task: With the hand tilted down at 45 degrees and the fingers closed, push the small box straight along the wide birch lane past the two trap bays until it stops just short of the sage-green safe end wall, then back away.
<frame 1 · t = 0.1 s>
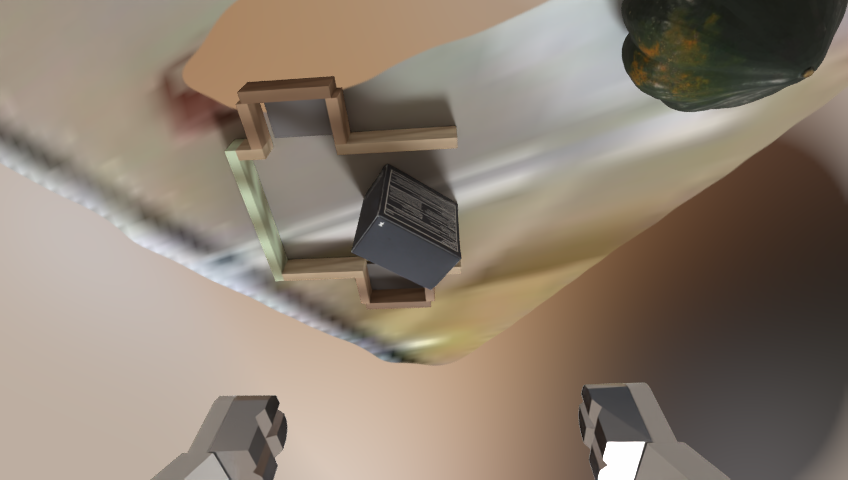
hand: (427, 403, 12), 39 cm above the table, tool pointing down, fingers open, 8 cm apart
trap lane: (362, 204, 54), on the table
squash: (690, 5, 40), on the table
small box: (410, 201, 54), on the table
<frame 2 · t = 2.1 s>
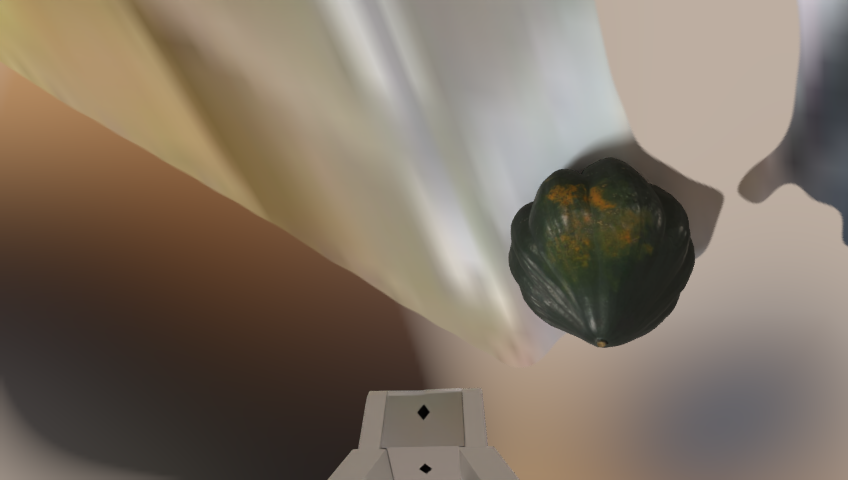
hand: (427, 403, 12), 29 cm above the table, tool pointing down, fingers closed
squash: (577, 218, 42), on the table
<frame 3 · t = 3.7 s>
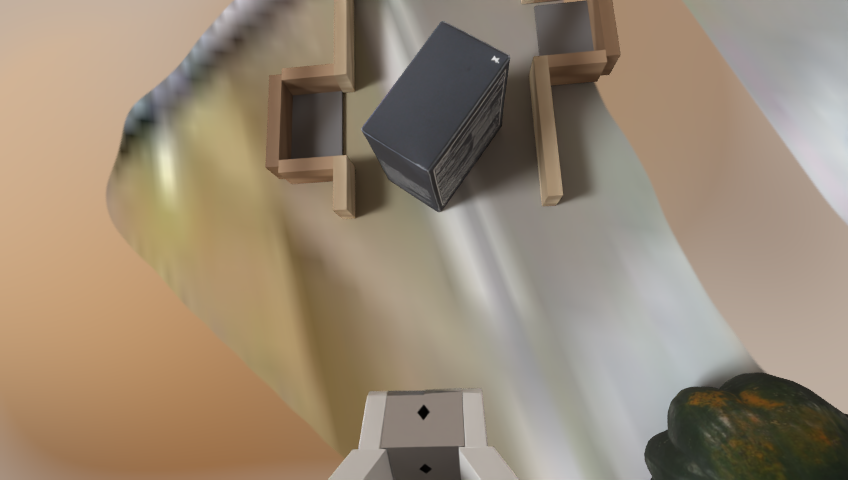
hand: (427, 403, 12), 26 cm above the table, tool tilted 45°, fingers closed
trap lane: (440, 93, 42), on the table
squash: (721, 472, 33), on the table
small box: (443, 152, 41), on the table
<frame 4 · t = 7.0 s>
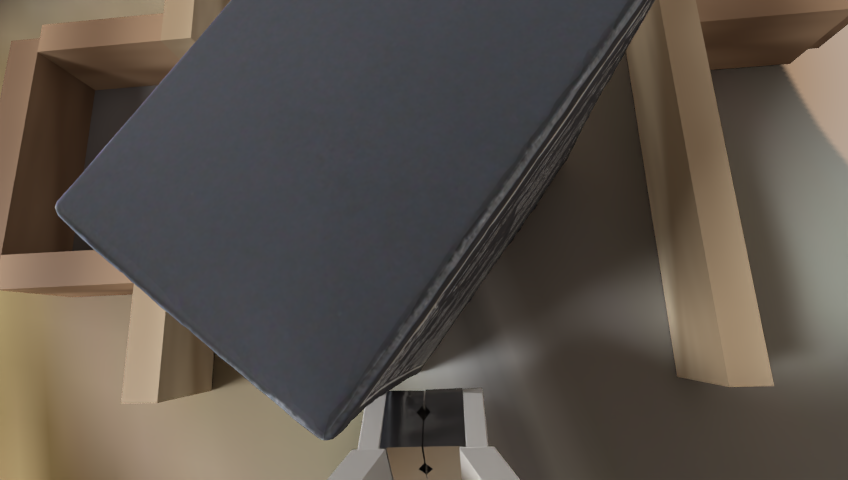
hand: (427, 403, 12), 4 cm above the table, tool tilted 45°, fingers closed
trap lane: (423, 88, 18), on the table
small box: (428, 219, 17), on the table, touching gripper
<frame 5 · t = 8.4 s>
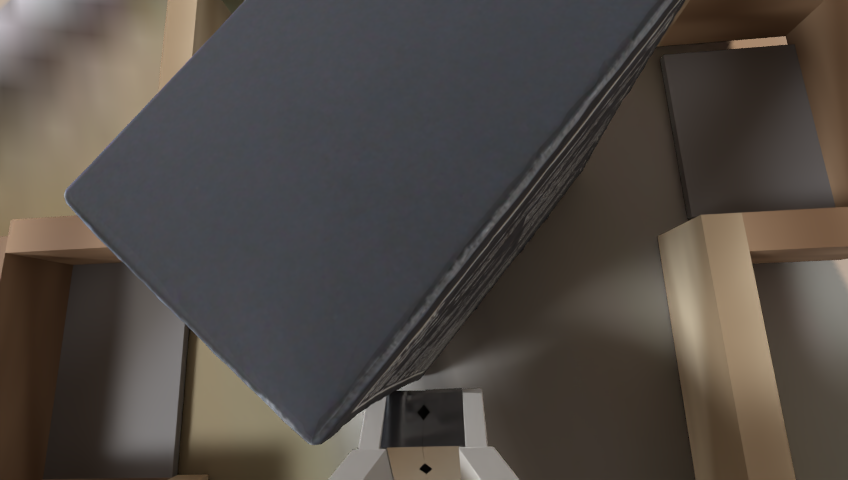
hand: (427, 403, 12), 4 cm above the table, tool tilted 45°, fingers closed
trap lane: (433, 273, 17), on the table
small box: (438, 224, 17), on the table, touching gripper
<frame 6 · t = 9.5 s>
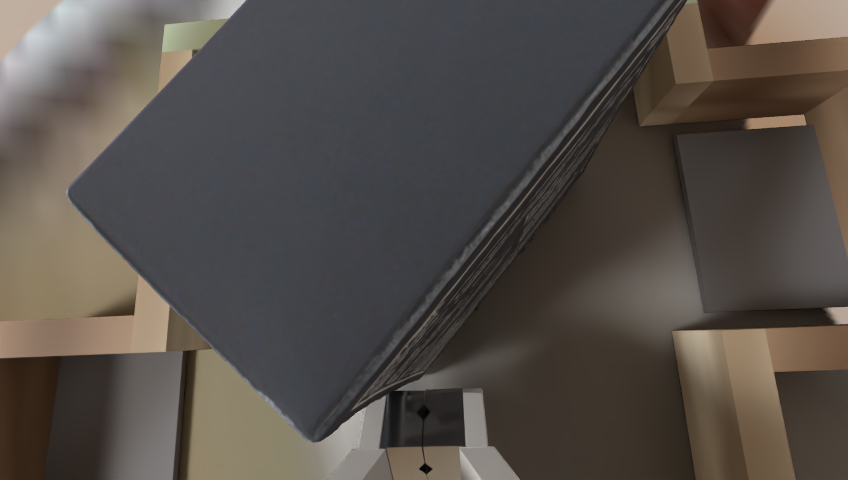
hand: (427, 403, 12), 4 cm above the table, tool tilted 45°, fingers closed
trap lane: (437, 368, 16), on the table
small box: (439, 224, 17), on the table, touching gripper
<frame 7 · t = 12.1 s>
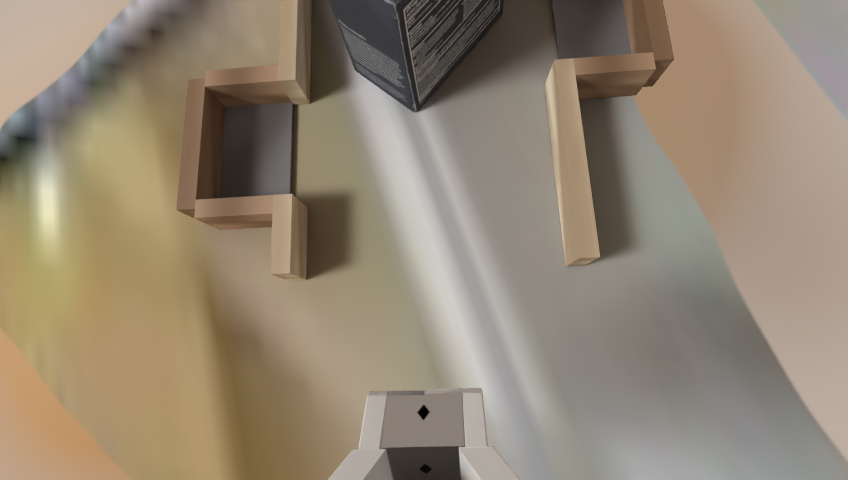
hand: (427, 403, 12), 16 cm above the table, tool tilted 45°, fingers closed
trap lane: (426, 107, 31), on the table
small box: (427, 42, 32), on the table
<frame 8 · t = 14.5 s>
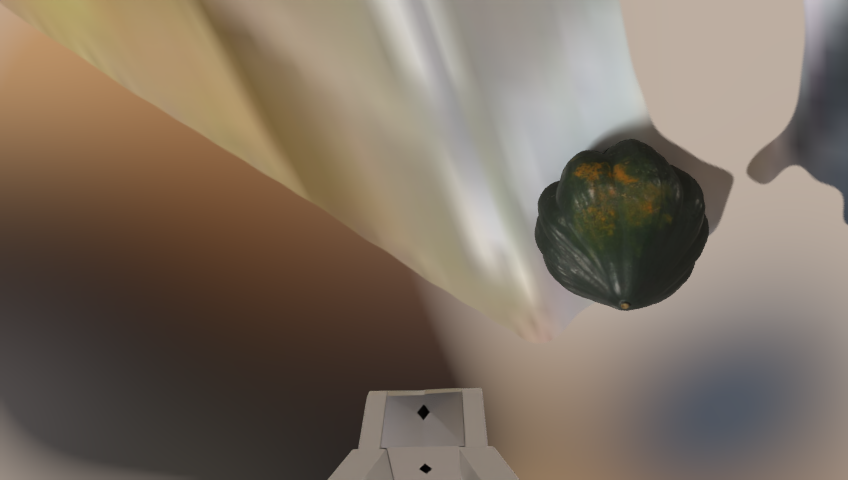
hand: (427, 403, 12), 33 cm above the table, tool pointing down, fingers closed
squash: (597, 198, 45), on the table
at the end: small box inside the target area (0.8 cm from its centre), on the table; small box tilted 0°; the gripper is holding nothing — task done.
